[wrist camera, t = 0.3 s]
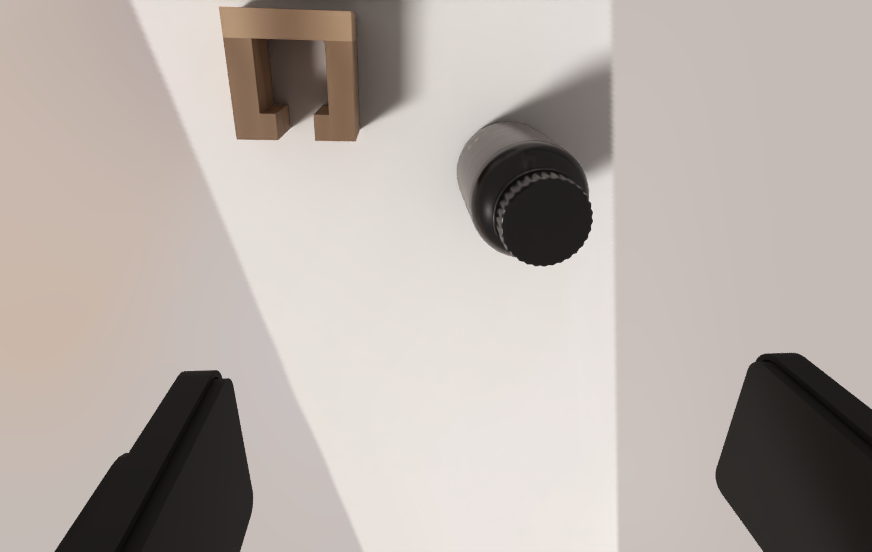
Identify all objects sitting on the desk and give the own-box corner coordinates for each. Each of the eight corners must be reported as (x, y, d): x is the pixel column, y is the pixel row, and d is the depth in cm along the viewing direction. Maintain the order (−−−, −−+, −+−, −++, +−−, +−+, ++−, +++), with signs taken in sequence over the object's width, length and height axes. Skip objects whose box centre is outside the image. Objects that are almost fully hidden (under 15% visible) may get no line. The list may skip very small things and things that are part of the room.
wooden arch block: (355, 13, 32) (350, 11, 28) (359, 129, 35) (355, 141, 31) (239, 9, 31) (218, 6, 28) (253, 127, 34) (236, 139, 31)
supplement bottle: (569, 168, 37) (641, 226, 26) (498, 232, 39) (538, 310, 28) (507, 96, 35) (558, 127, 24) (434, 167, 36) (451, 227, 26)
